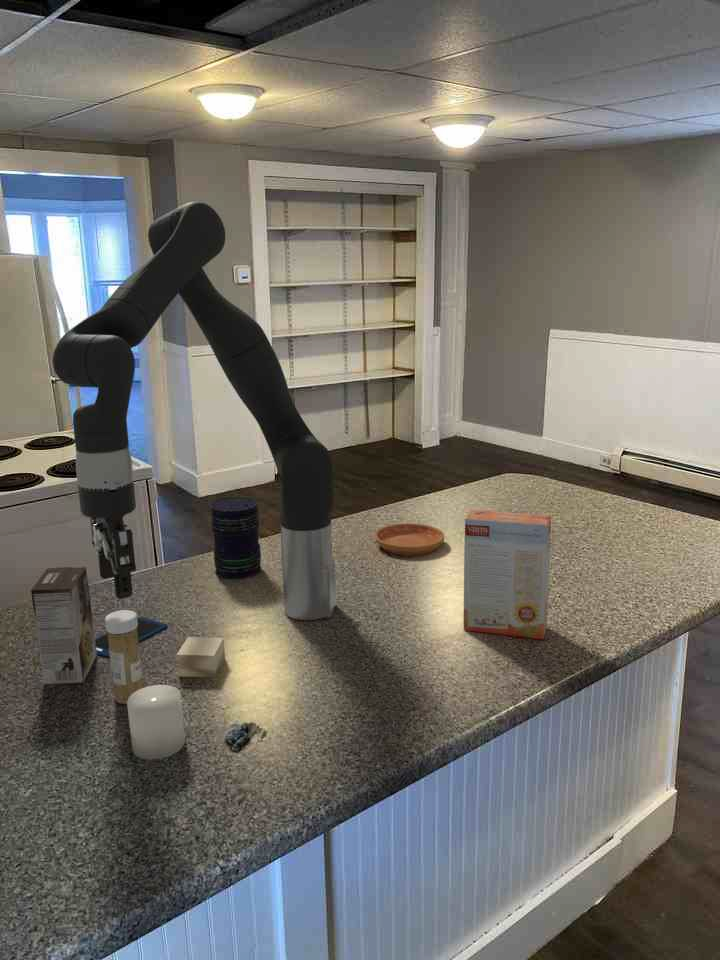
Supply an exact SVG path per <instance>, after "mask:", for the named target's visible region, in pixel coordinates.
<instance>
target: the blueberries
mask: <svg viewBox="0 0 720 960" xmlns="http://www.w3.org/2000/svg"><path fill="white" fill-rule="evenodd" d="M267 733H268V732H267V730H266V729H264V728H263V727H260V726H259V725H257V723H255V722H249V723H248V722H243V723H242V724H238V723H232V724H230V726H229V727H227V728H226V729H225V730H223V731H222V734H221V735H220V736H219V737H220V738H219V741H220V742H223V743H222V744H224V745H226V746H227V747H229V750H230V752H235V753H240V751H242V748H243V747H245V746H246V745H247V744H248V743H249V742H250V741H252V740H253V738H254V737H255V736H256V735H257V737H256V738H257V739H256V740H257V741H256V744H255V745H256V746H257V747H258V743H259V742H260V741H263V739H262V738H265V736H267Z"/></svg>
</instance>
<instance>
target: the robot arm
mask: <svg viewBox="0 0 720 960" xmlns="http://www.w3.org/2000/svg"><path fill="white" fill-rule="evenodd" d="M147 237H148V243H149V246H150V249H151V252H152V254H153V256H152V257H151V258H150V259H148V260H147V261H146V262H145V263H143V264H142V265H141V266H139V268H138V269H137V270H135V271H134V272H133V273H131V274H130V275H129V276H128V277H127V278H126V279H125V280H124V281H123V282H122V283H120V285H119V286H118V287H117V288H115V290H114V292H113V293H112V294H111V295H110V297H109V298H108V299H107V300H106V302H105V303H104V304H103V306H102V307H101V308H100V309H99V310H97V311H96V312H94V313H93V314H91V315H89V316H87V317H86V318H84V319H83V320H81V321H80V322H79V323H78V324H76V325H75V326H73V327H72V328H70V329H69V330H68V331H67V332H65V334H63V336H62V337H61V338H60V339H59V341H58V342H57V345H56V346H55V348H54V350H53V355H52V366H53V370H54V372H55V374H56V376H57V377H58V378H59V380H60V381H61V382H63V383H64V384H66V385H68V386H72V387H78V388H96V389H97V395H96V399H95V402H94V403H90V404H84V405H82V406H79V407H78V408H77V409H75V411H73V415H72V424H73V425H72V426H73V435H74V445H75V472H76V480H77V481H76V482H77V491H78V500H79V508H80V509H79V510H80V511H79V512H80V514H82V515H83V516H84V517H86V518H89V519H90V531H91V544H92V546H93V547H94V548H95V549H94V550H95V553H96V555H97V558H98V567H99V575H100V578H101V579H103V580H106V579H110V578H113V583H114V584H113V585H114V592H115V596H116V598H117V599H118V600H122V599H126V598H131V597H132V595H133V585H132V584H133V582H132V574H131V573H132V572H136V570H137V565H136V559H135V549H134V548H135V547H134V541H133V539H134V538H133V531H132V530H131V529H129V526H128V524H126V523H125V522H124V517H125V516H126V515H128V514H130V513H132V512H134V511H135V509H136V507H137V502H136V501H137V500H136V493H135V492H136V490H135V489H136V488H135V479H134V469H133V459H132V455H131V451H130V442H129V441H130V440H129V434H128V433H129V432H128V431H129V430H128V420H127V417H128V411H129V405H130V399H131V394H132V393H131V392H132V388H133V384H134V377H135V373H136V360H135V356H134V353H133V352H134V351H133V350H132V349H133V348H135V347H137V346H138V345H140V344H141V343H142V342H143V341H144V340H145V338H146V337H147V336H148V335H149V333H150V331H151V330H152V329H153V327H154V326H155V324H156V323H157V322H158V320H159V319H160V317H161V316H162V315H163V313H165V311H166V309H167V307H168V306H169V305H170V304H171V302H172V301H174V300H175V298H176V297H177V295H179V296H180V298H181V299H182V301H183V302H184V304H185V305H186V307H187V308H188V310H189V312H190V314H191V315H192V316H193V318H194V320H195V322H196V323H197V326H198V327H199V328H200V330H201V332H202V333H203V335H204V337H205V339H206V341H207V342H208V344H209V346H210V348H211V351H212V352H213V354H214V357H215V358H216V360H217V361H218V364H219V365H220V368H221V369H222V371H223V373H224V375H225V376H226V378H227V380H228V382H229V383H230V385H231V387H232V388H233V389H234V391H235V393H236V395H237V396H238V397H239V398H240V400H241V402H242V403H243V404H244V406H245V407H246V408H247V410H248V411H249V412H250V414H251V415H252V417H254V419H255V421H256V423H257V424H258V427H259V428H260V430H261V432H262V434H263V437H264V439H265V441H266V444H267V445H268V449H269V451H270V454H271V456H272V458H273V462H274V465H275V466H276V469H277V471H278V473H279V474H280V477H281V478H280V479H281V498H282V501H281V502H282V503H281V505H282V506H281V508H280V511H279V512H280V513H279V517H280V518H279V519H280V520H279V521H280V541H281V543H280V544H281V558H282V559H281V563H282V564H281V565H282V585H283V604H284V605H283V606H284V613H285V615H286V616H288V617H289V618H292V619H294V620H295V619H296V620H300V621H312V620H314V621H315V620H319V619H323V618H327V619H329V618H331V617H332V616H333V612H334V610H335V607H336V605H337V602H336V599H337V597H336V596H337V595H336V570H335V569H336V563H335V558H334V557H333V540H332V512H333V509H334V499H335V498H334V496H335V495H334V492H335V491H334V482H335V481H334V463H333V458H332V455H331V453H330V451H329V450H328V448H327V447H326V446H325V445H324V444H322V442H320V440H318V438H316V436H315V435H314V434H313V432H312V431H311V430H310V428H309V427H308V426H307V424H306V422H305V420H304V419H303V417H302V416H301V414H300V413H299V411H298V410H297V407H296V405H295V403H294V401H293V399H292V396H291V393H290V390H289V387H288V383H287V380H286V377H285V374H284V370H283V368H282V366H281V363H280V360H279V358H278V356H277V354H276V352H275V350H274V348H273V345H272V344H271V342H270V340H269V338H268V337H267V334H266V332H265V331H264V329H263V328H262V326H261V325H260V324H259V323H258V322H257V321H256V320H255V319H254V318H252V316H250V315H249V314H247V312H245V311H243V310H242V309H241V308H239V306H237V305H235V304H233V303H232V302H231V301H230V300H228V299H227V298H226V297H224V296H223V294H222V293H220V292H219V290H217V288H216V287H215V285H213V283H212V281H211V280H210V278H209V277H208V275H207V274H206V271H205V270H204V267H205V266H207V264H208V263H209V262H211V261H212V260H213V259H214V258H216V257H217V256H218V255H219V254H220V253H221V252H222V250H223V249H224V247H225V243H226V229H225V226H224V223H223V220H222V218H221V217H220V215H219V214H218V213H217V211H216V210H215V209H214V208H213V207H212V206H210V205H209V204H207V203H205V202H203V201H191V202H190V201H189V202H187V203H185V204H182V205H180V206H178V207H176V208H175V209H173V210H171V211H168V212H167V213H165V214H164V215H162V216H160V217H158V218H156V219H155V220H154V221H153V222H151V223H150V226H149V227H148V231H147ZM121 558H123V559H124V561H125V563H124V564H121V563H122V562H121Z"/></svg>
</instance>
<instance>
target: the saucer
mask: <svg viewBox="0 0 720 960" xmlns="http://www.w3.org/2000/svg"><path fill="white" fill-rule="evenodd" d="M374 541H375V542H376V543H377V544H378V546H379V547H381V548H382V549H383V550H385V551H386V552H388V553H391V554H396V555H400V556H401V555H402V556H418V555H419V556H420V555H424V554H428V553H431V552H434V551H435V550H436V549H438V548H439V547H440V546H441V545H442V544H444V541H445V533H444V532H443V531H442V530H441V529H438V528H436V527H434V526H431V525H426V524H420V523H397V524H391V525H386V526H384V527H380V528H379V529H377V530H376V531H375V533H374Z"/></svg>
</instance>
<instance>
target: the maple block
mask: <svg viewBox="0 0 720 960" xmlns="http://www.w3.org/2000/svg"><path fill="white" fill-rule="evenodd" d="M224 639H225V638H224V637H204V636H203V637H202V636H201V637H199V636H197V637H196V636H195V637H194V636H188V637H187V638H186V639H185V641H184V642H183V643H182V646H181V647H180V648H179V651H178V652H177V653H176V662H177V663H176V664H177V674H178V677H187V678H189V677H190V678H191V677H192V678H216V677H217V675H218V673H219V672H220V670H221V668H222V665H223V664H224V662H225V660H226V653H225V652H226V651H225V640H224Z"/></svg>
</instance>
